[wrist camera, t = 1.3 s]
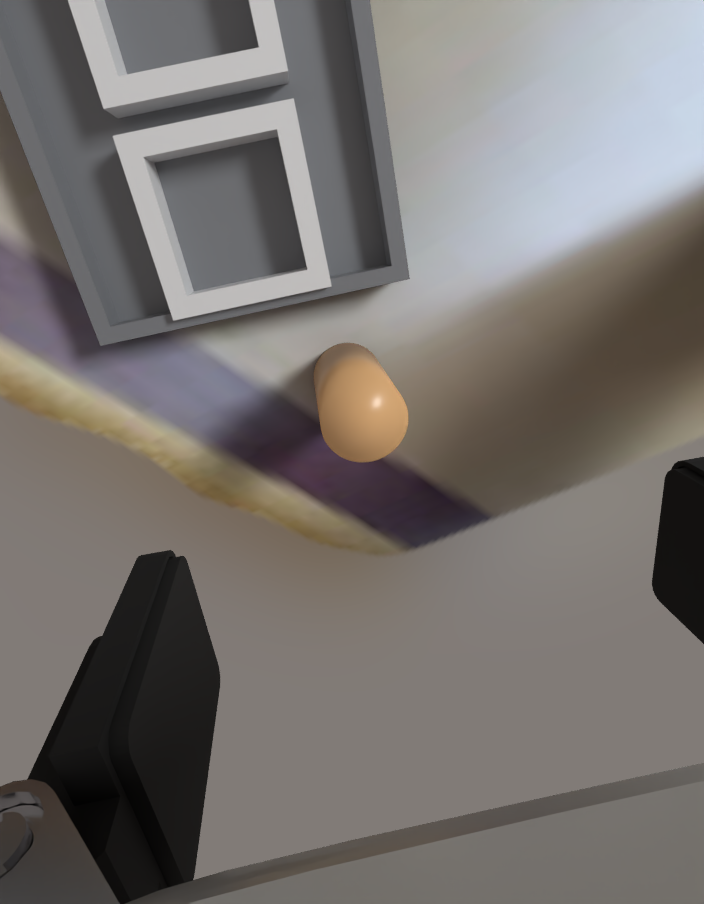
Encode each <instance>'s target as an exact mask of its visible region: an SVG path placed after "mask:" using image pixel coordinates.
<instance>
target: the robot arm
mask: <svg viewBox="0 0 704 904" xmlns="http://www.w3.org/2000/svg"><path fill="white" fill-rule="evenodd" d="M652 586H653V591H654V593H655V595H656V597H657V599H658V600H659V601H660V602H661V603H662V604H663V605H664V606H665V607H666V608H667V609H668V610H669V611H670V612H671V613H672V614H673V615H674V616H675V617H676V618H677V619H679V621H680V622H682V623H683V624H684V625H685V626H686V627H687V628H688V629H689V630H690V631H691V632H692V633H693V634H694V635H695V636H696V637H697V638H698V639H699V640H700V641H701V642H702V643H703V644H704V457H700V458H694V459H689V460H684V461H678V462H677V463H675V464H674V466H673V467H672V470H670V471H669V472H668V473H667V474H666V477H665V482H664V490H663V498H662V506H661V514H660V522H659V530H658V538H657V546H656V554H655V563H654V570H653V578H652ZM219 689H220V672H219V666H218V662H217V659H216V656H215V652H214V649H213V646H212V642H211V639H210V636H209V633H208V630H207V626H206V622H205V619H204V616H203V613H202V609H201V606H200V603H199V600H198V596H197V593H196V589H195V586H194V583H193V579H192V576H191V573H190V570H189V566H188V563H187V560H186V558H185V557H184V556H180V557H176V556H175V554H174V552H173V551H171V550H169V551H164V552H157V553H151V554H146V555H141V556H139V557H138V558H137V560H136V562H135V564H134V566H133V568H132V571H131V573H130V575H129V577H128V580H127V582H126V584H125V586H124V589H123V591H122V593H121V595H120V598H119V600H118V602H117V604H116V606H115V609H114V611H113V613H112V615H111V618H110V620H109V622H108V624H107V627H106V629H105V631H104V633H103V636H100V637H98V638H96V639H95V640H93V642H92V644H91V645H90V647H89V649H88V651H87V653H86V655H85V657H84V659H83V661H82V664H81V666H80V668H79V670H78V672H77V675H76V676H75V679H74V681H73V683H72V685H71V687H70V689H69V692H68V694H67V696H66V698H65V700H64V702H63V704H62V707H61V709H60V711H59V713H58V715H57V717H56V719H55V721H54V724H53V726H52V728H51V730H50V732H49V734H48V736H47V739H46V741H45V743H44V745H43V747H42V750H41V752H40V754H39V756H38V758H37V760H36V762H35V764H34V767H33V769H32V771H31V773H30V775H29V777H28V779H27V780H21V781H13V782H11V783H8V784H5V785H3V786H0V904H704V763H701V764H696V765H691V766H687V767H682V768H678V769H673V770H668V771H663V772H659V773H654V774H650V775H645V776H640V777H636V778H631V779H626V780H622V781H618V782H613V783H608V784H604V785H599V786H594V787H590V788H585V789H580V790H577V791H571V792H567V793H562V794H557V795H553V796H549V797H544V798H539V799H534V800H530V801H526V802H521V803H517V804H512V805H508V806H503V807H499V808H495V809H490V810H485V811H481V812H476V813H472V814H467V815H463V816H458V817H454V818H449V819H445V820H440V821H436V822H431V823H427V824H422V825H418V826H413V827H409V828H404V829H400V830H395V831H391V832H387V833H382V834H377V835H373V836H369V837H364V838H360V839H355V840H351V841H347V842H342V843H338V844H334V845H330V846H326V847H322V848H317V849H313V850H310V851H305V852H301V853H297V854H293V855H289V856H285V857H280V858H276V859H272V860H268V861H264V862H260V863H256V864H252V865H248V866H244V867H239V868H235V869H231V870H227V871H223V872H220V873H217V874H213V875H210V876H206V877H203V878H199V879H196V880H193V878H194V873H195V866H196V858H197V851H198V844H199V836H200V829H201V822H202V814H203V807H204V799H205V792H206V785H207V778H208V770H209V763H210V756H211V748H212V741H213V733H214V726H215V719H216V711H217V704H218V697H219Z"/></svg>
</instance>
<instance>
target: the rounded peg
mask: <svg viewBox="0 0 704 904" xmlns="http://www.w3.org/2000/svg"><path fill="white" fill-rule="evenodd" d="M314 386H315V392H316V399H317V406H318V413H319V419H320V426H321V432H322V435H323V438H324V440H325V442H326V443H327V445H328V446H329V447H330V449H331V450H332V451H334V452H335V453H336V454H337V455H339V456H340V457H342V458H344V459H347V460H350V461H354V462H371V461H375V460H378V459H381V458H383V457H385V456H387V455H388V454H390V453H391V452H392V451H393V450H394V449H396V448H397V446H398V445H399V444H400V443H401V441H402V439H403V438H404V436H405V433H406V430H407V426H408V410H407V406H406V404H405V401H404V400H403V398H402V396H401V395H400V393H399V392H398V390H397V389H396V387H395V386H394V384H393V383H392V381H391V380H390V378H389V377H388V375H387V374H386V372H385V371H384V369H383V368H382V366H381V365H380V363H379V362H378V360H377V359H376V357H375V356H374V355H373V354H372V353H371V352H370V351H369V350H368V349H367V348H365V347H363V346H361V345H358V344H354V343H342V344H338V345H335V346H333V347H331V348H329V349H328V350H326V351H325V352H324V353H323V354H322V355H321V356H320V358H319V359H318V361H317V363H316V366H315V369H314Z"/></svg>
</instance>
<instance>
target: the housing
mask: <svg viewBox="0 0 704 904" xmlns="http://www.w3.org/2000/svg"><path fill="white" fill-rule="evenodd" d="M0 91H1V94H2V96H3V99H4V101H5V104H6V106H7V109H8V112H9V114H10V117H11V119H12V122H13V124H14V127H15V129H16V132H17V134H18V137H19V140H20V142H21V145H22V147H23V150H24V152H25V155H26V157H27V160H28V163H29V165H30V168H31V170H32V173H33V175H34V178H35V180H36V183H37V185H38V188H39V191H40V193H41V196H42V198H43V201H44V203H45V206H46V208H47V211H48V213H49V216H50V219H51V221H52V224H53V226H54V229H55V231H56V234H57V236H58V239H59V241H60V244H61V247H62V249H63V252H64V254H65V257H66V259H67V262H68V264H69V267H70V270H71V272H72V275H73V277H74V280H75V282H76V285H77V287H78V290H79V292H80V295H81V298H82V300H83V303H84V305H85V308H86V310H87V313H88V315H89V318H90V320H91V323H92V326H93V328H94V331H95V333H96V336H97V338H98V341H99V343H100V346H102V345H107V344H112V343H116V342H121V341H125V340H130V339H135V338H139V337H144V336H149V335H153V334H158V333H162V332H167V331H172V330H176V329H181V328H186V327H190V326H195V325H199V324H204V323H209V322H213V321H218V320H222V319H227V318H232V317H236V316H241V315H246V314H250V313H255V312H259V311H264V310H269V309H273V308H278V307H283V306H287V305H292V304H296V303H301V302H306V301H310V300H315V299H319V298H324V297H329V296H333V295H338V294H343V293H347V292H352V291H356V290H361V289H366V288H370V287H375V286H379V285H384V284H389V283H393V282H398V281H403V280H407V279H410V278H409V271H408V264H407V257H406V250H405V243H404V236H403V229H402V222H401V215H400V208H399V201H398V194H397V187H396V180H395V174H394V167H393V160H392V153H391V146H390V139H389V132H388V125H387V118H386V111H385V104H384V97H383V90H382V83H381V76H380V69H379V62H378V55H377V48H376V41H375V34H374V27H373V20H372V13H371V6H370V0H0Z"/></svg>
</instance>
